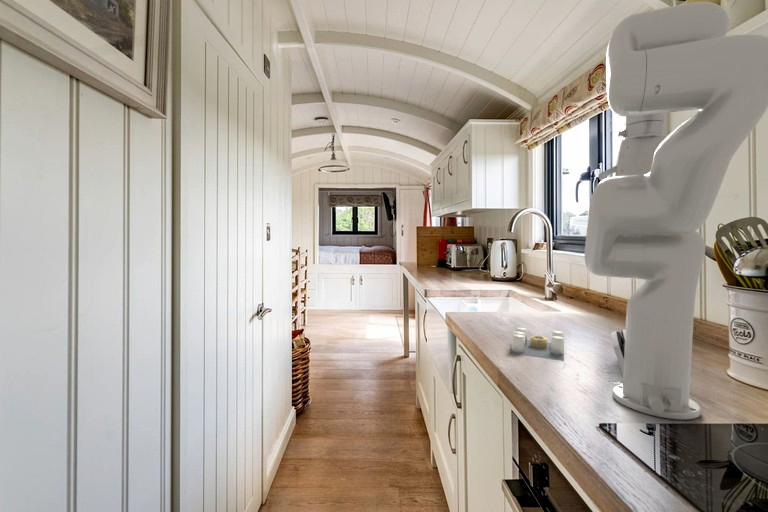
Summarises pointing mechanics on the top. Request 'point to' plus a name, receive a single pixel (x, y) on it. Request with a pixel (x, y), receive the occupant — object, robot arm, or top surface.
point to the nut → (538, 342)
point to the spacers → (521, 339)
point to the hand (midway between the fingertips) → (639, 208)
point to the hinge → (619, 346)
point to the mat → (540, 352)
